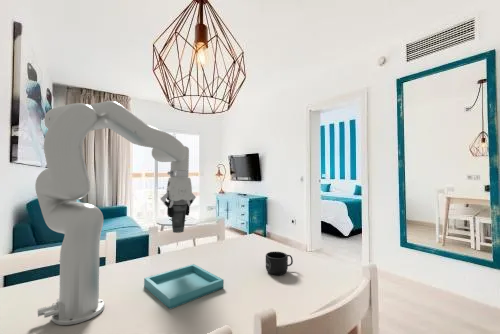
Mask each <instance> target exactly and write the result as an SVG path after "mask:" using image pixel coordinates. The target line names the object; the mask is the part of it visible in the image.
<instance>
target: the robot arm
mask: <svg viewBox="0 0 500 334" xmlns="http://www.w3.org/2000/svg"><path fill="white" fill-rule="evenodd" d="M43 121H44V124H45V127H46V128H47V132H46V133H45V137H44V141H43V152H44V156H45V161H46V167H47V168H46V169H43V170H42V171H41V172H40V173H39V174H38V175H37V178H36V179H35V185H34V186H35V187H34V188H35V193H36V197H37V200H38V205H39V207H40V210H41V215H42V217H43V220H44V222H45V224H46V226H47V227H48V229H50V230H51V231H53V232H56V233H58V234H63V235H64V237H63V240H62V243H61V247H60V250H59V252H60V253H59V293H58V295H59V296H58V297H59V298H56V302H54V303H52V305H49V306H43V307H40V308H37V317H42V316H43V318H44V319H45V318H49V317H51V321H52V322H53V323H54V324H55V325H59V326H69V325H71V326H72V325H75V324H80V323H83V322H86V321H88V320H90V319H93V318H95V317H96V316H99V314H101V312H103V310H104V309H105V307H106V306H105V303H106V302H105V301H104V299H102V298H100V243H101V236H102V235H101V234H102V232H103V226H104V215H103V212H102V211H101V209H100V208H99V207H97V206H96V205H94V204H91V203H87V202H79V201H77V200H81V199H84V198H85V197H86V196H87V195H88V194H89V193H90V189H91V181H90V179H89V173H88V169H87V165H86V162H85V158H84V152H83V145H84V142H85V138H86V137H87V136H88V134H89V133H90V132H91V131H96V130H97V131H98V130H101V129H102V130H103V129H104V130H105V129H109V130H111V131H113V132H114V133H116V134H117V135H119V136H120V137H122V138H124V139H125V140H127V141H129V142H130V143H132V144H134V145H136V146H137V145H138V146H141V147H145V148H151V156H152V158H153V159H154V160H155V161H156V162H159V163H170V170H169V171H167V175H169V176H170V177H168V181H167V186H166V192H165V194H163V195H162V196H161V198H160V201H161V202H162V203H163V205H165V206H166V208H167V210H166V211H167V212H166V213H167V217H168V218H172V217H173V208H172V205H173V203H174V201H180V200H181V199H183V200H185V201H187V209H186V215H185V216H190V208H191V205H192V204H193V203H194V201H195V199H196V198H197V196H196V195H195V194H194V193H193V185H192V180H191V179H192V178H190V177H189V173H190V172H189V164H190V163H189V161H190V148H189V147H188V146H186V145H184V144H183V143H182V142H181V141H180V140H178V139H177V138H176V137H175V136H173V134H170V133H168V132H166V131H164V130H161V129H159V128H156V127H155V126H152V125H149V124H147V123H146V122H144V121H143V120H142V119H141V118H139V117H138V116H137V115H135V114H134V113H133V112H132V111H130V110H129V109H127V108H126V107H124V106H123V105H122V104H120V103H118V102H117V101H112V100H107V101H100V102H97V103H91V104H90V103H89V104H86V103H82V102H80V103H79V102H77V103H70V104H66V105H61V106H56V107H53V108H51V109H49V110H48V111H47V112H46V114H45V115H44V119H43Z"/></svg>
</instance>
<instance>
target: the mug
mask: <svg viewBox="0 0 500 334" xmlns="http://www.w3.org/2000/svg"><path fill="white" fill-rule="evenodd" d="M289 257H290V263H289V261H288V260H289ZM288 263H289V264H288ZM293 263H294V260H293V256H292V255H290V254H287V253H286V252H282V251H269V252H267V253H266V254H265V270H266V272H267V273H269V274H271V275H273V276H281V275H283V274H286V273H287V271H288V269H289V268H288V267H290V266H292V265H293Z"/></svg>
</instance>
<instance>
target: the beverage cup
mask: <svg viewBox="0 0 500 334" xmlns="http://www.w3.org/2000/svg"><path fill="white" fill-rule="evenodd" d="M172 208H173V217H171V226H172V227H171V228H172V233H177V234H179V233H183V232H184V231H185V223H186V216H187V215H186V209H187V201H185V200H183V199H181V200H180V201H174V203H173V205H172Z"/></svg>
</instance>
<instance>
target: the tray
mask: <svg viewBox="0 0 500 334" xmlns="http://www.w3.org/2000/svg"><path fill="white" fill-rule="evenodd" d="M143 279H144V281H143V284H144V285H143V287H144V288H145V289H146V290H147V291H149V292H150V294H152V295H153V296H154V297H156V298H157V299H158V300H159V301H160V302H161V303H162V304H163V305H164V306H166V307H167V308H168V309H169V310H172V309H174V308H177V307H179V306H180V307H181V305H185V304H187V303H189V302H193V301H194V300H197V299H200V298H202V297H205V296H209V294H210V295H211V294H212V293H215V292H217V291H220V290H223V289H224V280H225V279H224V278H221V277H220V276H218V275H215V274H214V273H211V272H210V271H208V270H206V269H204V268H202V267H200V266H198V265H196V264H194V263H191V264H190V265H189V264H187V265H185V266H181V267H179V268H175V269H172V270H168V271H164V272H161V273H156V274H154V275H150V276H146V277H144V278H143Z"/></svg>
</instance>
